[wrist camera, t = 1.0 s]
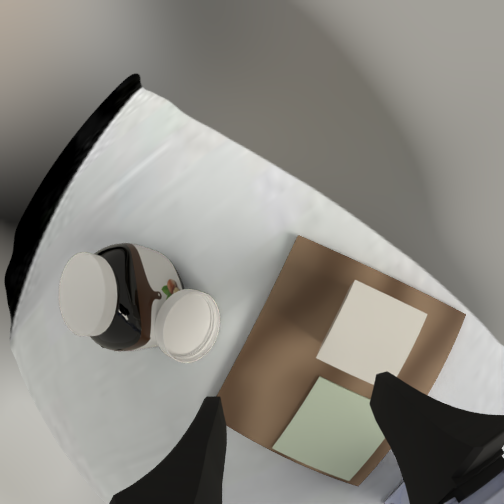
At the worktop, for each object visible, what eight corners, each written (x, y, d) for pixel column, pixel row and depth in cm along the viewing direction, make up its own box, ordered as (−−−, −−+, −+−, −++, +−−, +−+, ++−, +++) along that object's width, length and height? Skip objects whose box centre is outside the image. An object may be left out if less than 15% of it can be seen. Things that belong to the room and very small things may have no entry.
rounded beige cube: (404, 311, 21) (427, 314, 15) (375, 369, 21) (388, 391, 14) (350, 285, 23) (355, 279, 17) (321, 343, 23) (315, 357, 16)
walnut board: (461, 314, 20) (466, 314, 19) (357, 481, 19) (357, 486, 18) (299, 237, 26) (298, 234, 25) (211, 410, 25) (207, 413, 24)
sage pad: (401, 411, 19) (402, 413, 19) (349, 479, 19) (349, 481, 18) (319, 375, 22) (319, 376, 22) (272, 446, 22) (271, 448, 21)
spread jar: (130, 266, 32) (54, 248, 21) (209, 238, 29) (138, 201, 18) (146, 363, 29) (68, 379, 18) (233, 352, 26) (165, 379, 15)
